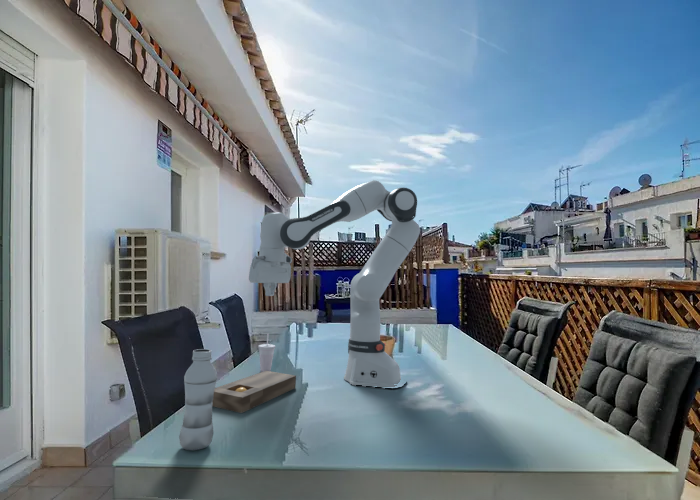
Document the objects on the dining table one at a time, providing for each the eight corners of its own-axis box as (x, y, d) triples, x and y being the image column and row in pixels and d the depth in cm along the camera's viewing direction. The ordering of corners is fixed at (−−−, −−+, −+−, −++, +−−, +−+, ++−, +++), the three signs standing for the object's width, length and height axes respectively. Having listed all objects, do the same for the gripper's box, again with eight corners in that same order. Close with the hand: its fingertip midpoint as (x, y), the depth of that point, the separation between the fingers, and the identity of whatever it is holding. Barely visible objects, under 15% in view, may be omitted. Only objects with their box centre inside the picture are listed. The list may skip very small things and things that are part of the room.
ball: (250, 401, 108) (251, 387, 109) (241, 404, 105) (242, 390, 105) (239, 399, 110) (240, 385, 111) (230, 402, 106) (231, 387, 107)
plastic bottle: (184, 440, 82) (191, 347, 83) (216, 440, 82) (222, 348, 84) (173, 454, 75) (180, 353, 77) (208, 454, 76) (214, 354, 77)
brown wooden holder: (295, 388, 123) (295, 375, 123) (241, 413, 99) (242, 397, 99) (265, 382, 128) (266, 370, 128) (207, 405, 104) (208, 390, 104)
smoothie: (276, 369, 145) (278, 333, 146) (271, 374, 139) (273, 335, 140) (260, 368, 146) (262, 332, 147) (254, 373, 139) (256, 334, 140)
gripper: (260, 255, 125) (258, 297, 124) (294, 259, 143) (292, 295, 142) (245, 255, 127) (243, 296, 126) (280, 258, 146) (278, 294, 145)
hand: (269, 295), depth 134 cm, fingers closed
